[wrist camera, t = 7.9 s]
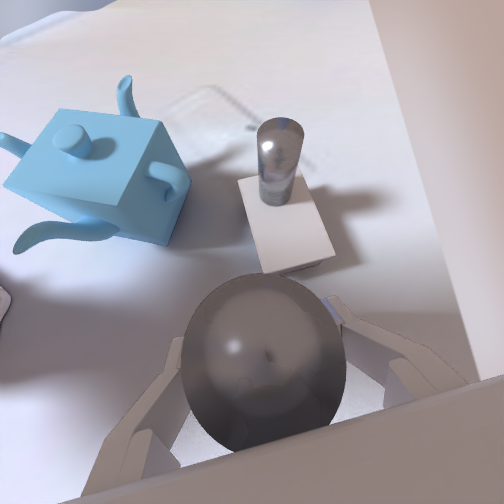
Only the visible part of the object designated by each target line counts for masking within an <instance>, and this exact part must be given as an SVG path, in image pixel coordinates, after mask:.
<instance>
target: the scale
mask: <svg viewBox="0 0 504 504" xmlns="http://www.w3.org/2000/svg"><path fill="white" fill-rule="evenodd" d="M238 185H239V188H240V192H241V195H242V199H243V203H244V206H245V210H246V214H247V217H248V221H249V224H250V228H251V232H252V235H253V239H254V242H255V246H256V250H257V253H258V257H259V260H260V264H261V268H262V271H263V273H264V274H274V275H281V274H285V273H288V272H292V271H296V270H300V269H304V268H308V267H312V266H315V265H319V264H320V263H321V262H322V261H323V259H326V258H330V257H334V256H335V255H336V253H335V251H334V249H333V246H332V244H331V241H330V239H329V237H328V234H327V232H326V230H325V227H324V225H323V222H322V220H321V218H320V215H319V213H318V210H317V208H316V206H315V203H314V201H313V199H312V196H311V194H310V191H309V189H308V187H307V184H306V182H305V179H304V177H303V175H302V172H301V170H300V167H299V165H298V166H297V171H296V176H295V180H294V185H293V189H292V194H291V197H290V199H289V201H288V202H287V203H285V204H284V205H282V206H277V207H273V206H269V205H267V204H265V203H264V202H263V201H262V200H261V199H260V196H259V178H258V175H256V176H252V177H248V178H244V179H240V180H238Z"/></svg>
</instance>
